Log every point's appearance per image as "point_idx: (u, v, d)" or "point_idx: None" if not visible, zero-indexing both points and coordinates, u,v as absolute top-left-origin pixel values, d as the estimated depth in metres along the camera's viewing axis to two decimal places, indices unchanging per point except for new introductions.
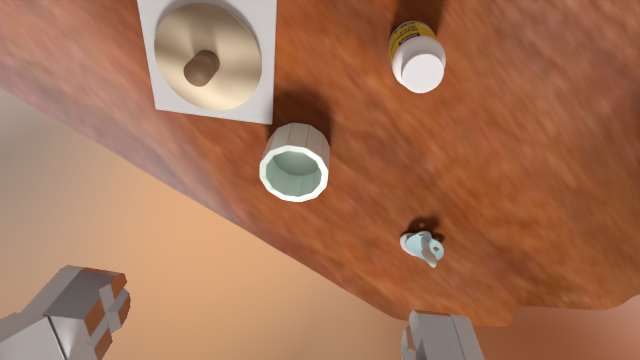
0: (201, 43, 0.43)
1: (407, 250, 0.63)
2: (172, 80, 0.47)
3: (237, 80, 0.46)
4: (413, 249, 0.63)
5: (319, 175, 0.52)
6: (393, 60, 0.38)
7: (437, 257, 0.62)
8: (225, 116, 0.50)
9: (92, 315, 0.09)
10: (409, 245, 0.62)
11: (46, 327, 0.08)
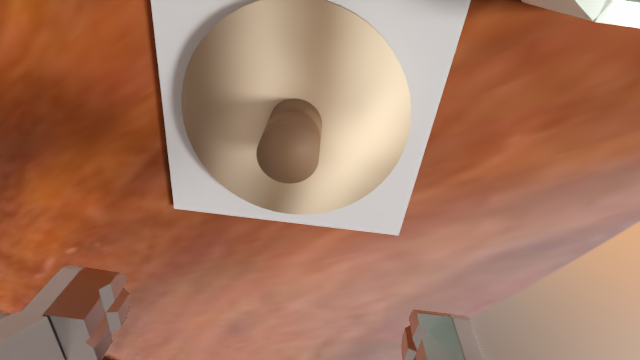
0: (257, 128, 0.21)
1: None
2: (337, 197, 0.23)
3: (336, 63, 0.19)
4: None
5: None
6: None
7: None
8: (432, 108, 0.21)
9: (92, 315, 0.09)
10: None
11: (46, 327, 0.08)
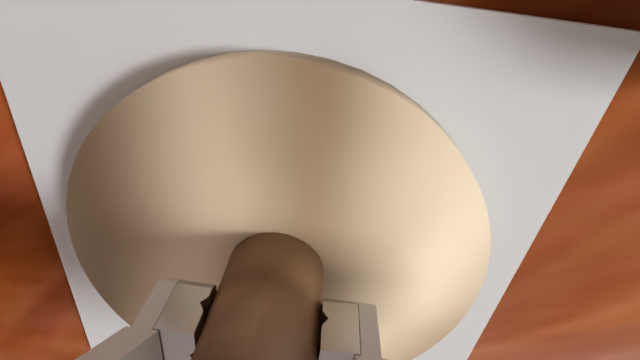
0: (209, 274, 0.12)
1: None
2: None
3: (351, 180, 0.10)
4: None
5: None
6: None
7: None
8: (522, 242, 0.12)
9: (198, 328, 0.09)
10: None
11: (156, 341, 0.08)
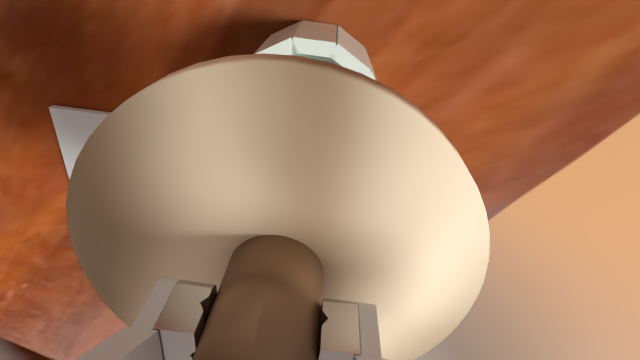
0: (209, 276, 0.12)
1: None
2: None
3: (351, 182, 0.10)
4: None
5: None
6: None
7: None
8: None
9: (198, 328, 0.09)
10: None
11: (156, 341, 0.08)
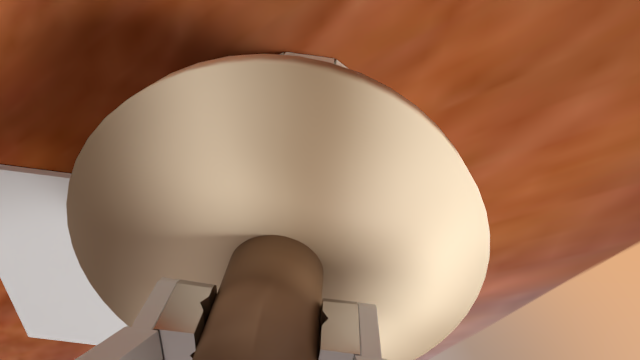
0: (209, 276, 0.12)
1: None
2: None
3: (351, 183, 0.10)
4: None
5: None
6: None
7: None
8: None
9: (198, 328, 0.09)
10: None
11: (156, 341, 0.08)
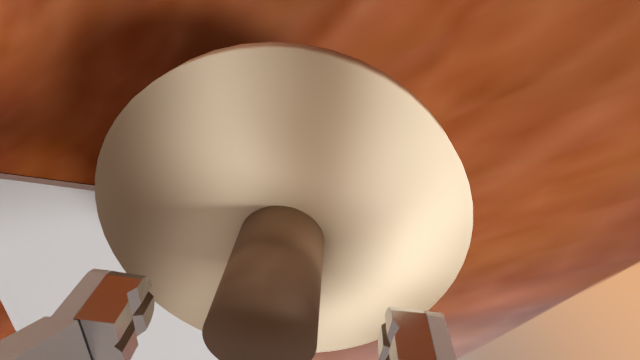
0: (221, 245, 0.13)
1: None
2: (347, 334, 0.15)
3: (349, 156, 0.11)
4: None
5: None
6: None
7: None
8: None
9: (121, 319, 0.09)
10: None
11: (76, 331, 0.08)
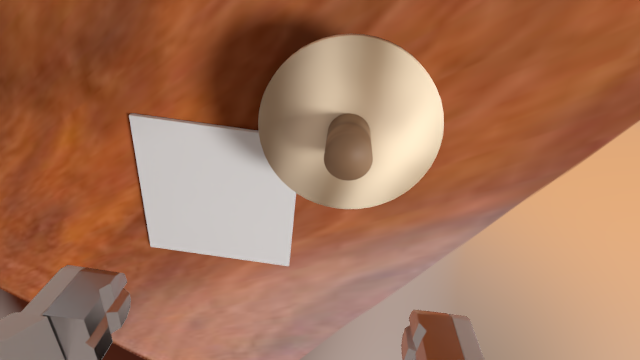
0: (317, 137, 0.26)
1: None
2: (379, 195, 0.28)
3: (384, 86, 0.24)
4: None
5: None
6: None
7: None
8: (292, 196, 0.37)
9: (92, 315, 0.09)
10: None
11: (46, 327, 0.08)
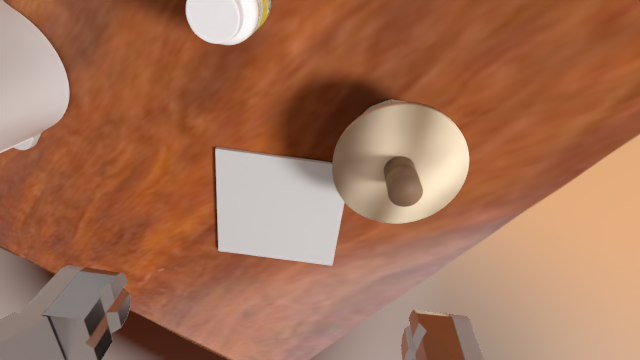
0: (376, 172, 0.36)
1: None
2: (418, 213, 0.38)
3: (428, 138, 0.34)
4: None
5: None
6: None
7: None
8: (340, 210, 0.46)
9: (92, 315, 0.09)
10: None
11: (46, 327, 0.08)
